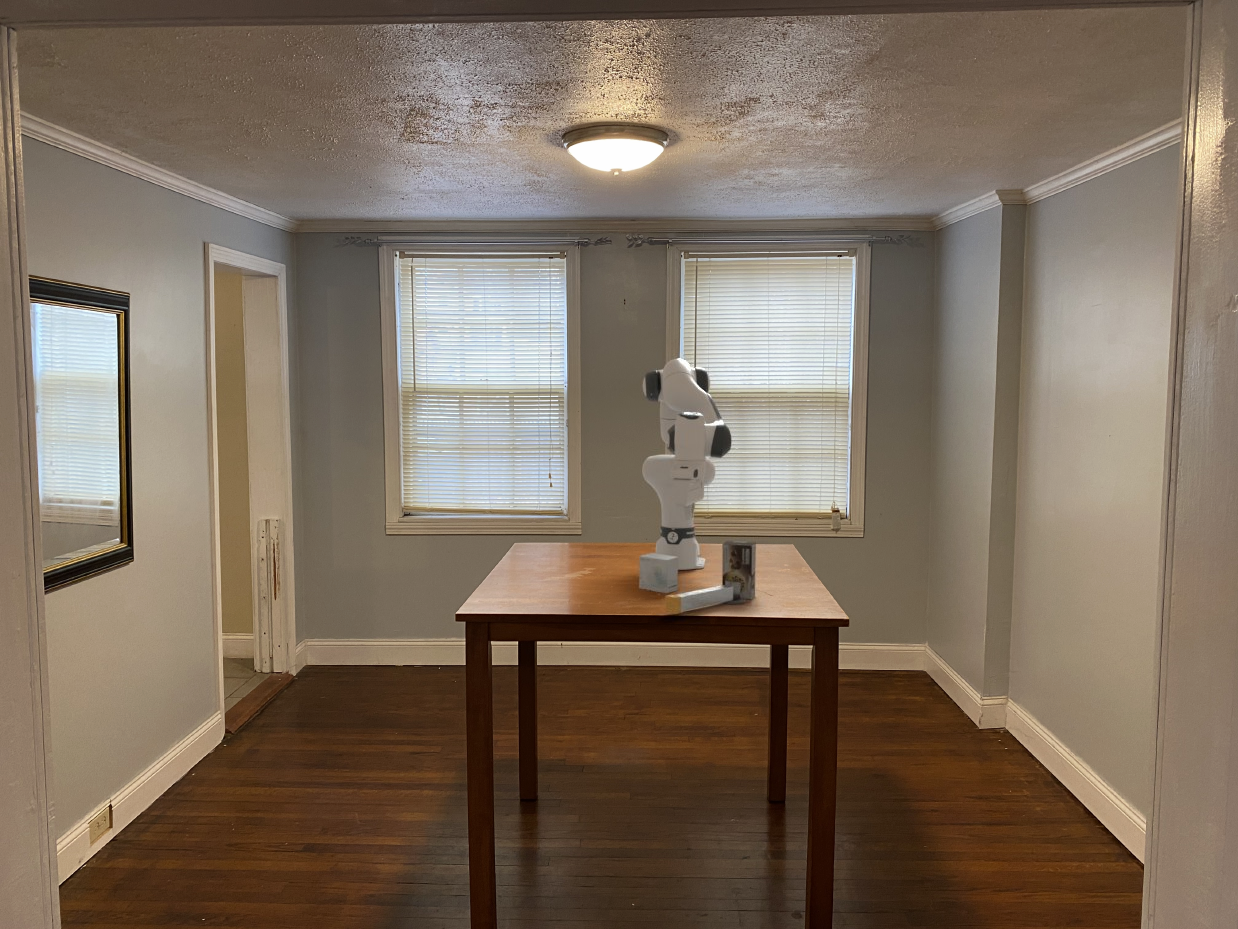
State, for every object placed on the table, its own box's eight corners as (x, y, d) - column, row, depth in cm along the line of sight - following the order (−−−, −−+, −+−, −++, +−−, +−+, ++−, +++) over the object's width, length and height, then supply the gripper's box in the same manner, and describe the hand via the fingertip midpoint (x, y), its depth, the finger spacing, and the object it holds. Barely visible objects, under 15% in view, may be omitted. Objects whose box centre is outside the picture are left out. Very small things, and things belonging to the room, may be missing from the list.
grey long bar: (731, 596, 260) (732, 579, 259) (743, 599, 257) (743, 581, 256) (664, 611, 241) (664, 592, 241) (675, 614, 238) (676, 595, 238)
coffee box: (755, 595, 266) (756, 541, 265) (751, 599, 260) (752, 545, 259) (725, 592, 269) (726, 540, 268) (721, 597, 263) (722, 543, 262)
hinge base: (723, 598, 261) (723, 595, 261) (747, 600, 259) (747, 597, 259) (717, 603, 255) (718, 600, 255) (742, 605, 252) (742, 602, 252)
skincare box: (638, 589, 273) (638, 555, 273) (650, 585, 278) (650, 552, 278) (666, 593, 267) (667, 559, 266) (678, 590, 272) (678, 556, 271)
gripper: (688, 467, 260) (688, 513, 261) (668, 472, 241) (668, 523, 242) (709, 467, 258) (709, 515, 259) (691, 473, 239) (690, 524, 240)
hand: (689, 519), depth 250 cm, fingers closed
